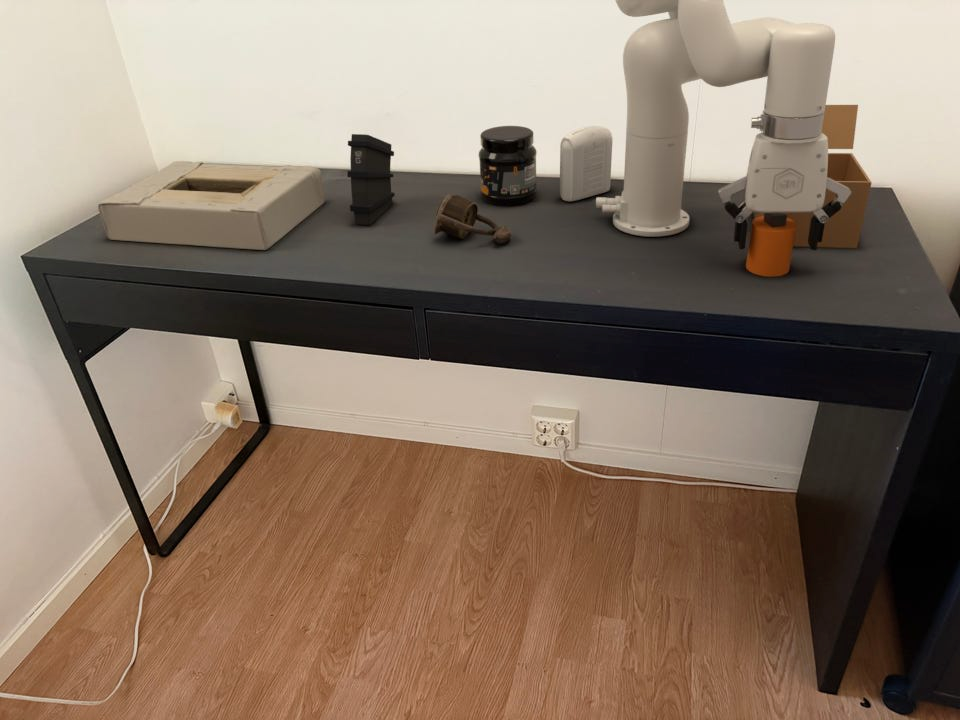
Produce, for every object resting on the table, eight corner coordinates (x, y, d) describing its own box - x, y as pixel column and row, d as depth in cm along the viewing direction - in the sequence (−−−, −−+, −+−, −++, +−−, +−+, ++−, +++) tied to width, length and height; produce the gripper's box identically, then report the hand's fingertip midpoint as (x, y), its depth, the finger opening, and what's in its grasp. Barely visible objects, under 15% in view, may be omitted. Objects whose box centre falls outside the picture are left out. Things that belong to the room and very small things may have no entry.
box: (327, 202, 147) (181, 194, 155) (321, 162, 143) (170, 156, 151) (270, 254, 129) (107, 242, 136) (261, 210, 124) (92, 200, 132)
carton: (762, 245, 120) (771, 180, 115) (753, 212, 132) (761, 152, 126) (856, 248, 118) (871, 182, 112) (839, 214, 129) (852, 153, 124)
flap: (766, 104, 124) (766, 105, 125) (762, 148, 126) (762, 148, 126) (858, 104, 122) (857, 104, 122) (853, 148, 123) (852, 149, 123)
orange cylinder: (757, 278, 111) (765, 222, 106) (738, 261, 116) (746, 207, 111) (796, 274, 111) (806, 218, 107) (776, 257, 116) (785, 202, 112)
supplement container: (482, 188, 149) (478, 125, 143) (536, 186, 148) (535, 123, 142) (479, 208, 140) (476, 142, 134) (537, 206, 139) (536, 140, 133)
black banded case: (343, 223, 133) (348, 133, 131) (375, 227, 145) (379, 146, 144) (363, 224, 132) (368, 134, 130) (393, 228, 144) (398, 146, 142)
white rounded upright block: (598, 185, 147) (600, 119, 140) (613, 191, 144) (616, 124, 137) (556, 198, 142) (556, 130, 136) (570, 204, 139) (571, 136, 133)
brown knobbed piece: (467, 189, 133) (422, 192, 126) (521, 198, 124) (476, 202, 118) (465, 231, 135) (421, 236, 129) (518, 243, 127) (474, 249, 120)
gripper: (725, 134, 101) (715, 256, 110) (868, 131, 97) (846, 257, 106) (722, 120, 107) (712, 236, 116) (856, 117, 104) (835, 236, 112)
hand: (776, 246), depth 111 cm, fingers open, 9 cm apart
